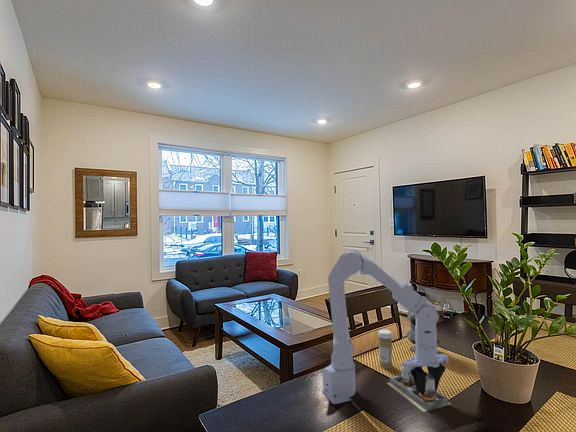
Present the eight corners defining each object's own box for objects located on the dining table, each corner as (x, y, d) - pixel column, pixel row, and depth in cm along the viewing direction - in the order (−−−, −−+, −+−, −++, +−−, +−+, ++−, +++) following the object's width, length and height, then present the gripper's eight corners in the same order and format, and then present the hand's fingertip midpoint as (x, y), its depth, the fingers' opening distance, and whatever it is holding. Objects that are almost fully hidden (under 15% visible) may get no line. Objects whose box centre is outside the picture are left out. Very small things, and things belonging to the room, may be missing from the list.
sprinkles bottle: (395, 369, 112) (394, 331, 112) (386, 373, 110) (386, 334, 110) (384, 365, 116) (384, 328, 116) (376, 368, 113) (375, 330, 113)
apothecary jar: (442, 359, 119) (441, 312, 119) (408, 356, 123) (407, 309, 123) (437, 347, 131) (436, 303, 131) (406, 344, 134) (405, 301, 135)
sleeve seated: (407, 391, 96) (406, 371, 96) (397, 384, 100) (396, 365, 100) (419, 388, 97) (418, 368, 97) (409, 381, 102) (408, 362, 102)
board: (423, 416, 86) (423, 405, 86) (386, 386, 101) (386, 377, 101) (452, 408, 89) (451, 398, 89) (412, 381, 104) (412, 372, 104)
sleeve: (426, 403, 88) (426, 382, 88) (415, 395, 93) (415, 374, 93) (439, 400, 90) (439, 379, 90) (427, 392, 94) (427, 371, 94)
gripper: (415, 352, 85) (416, 403, 85) (456, 345, 90) (457, 393, 90) (398, 343, 92) (399, 390, 92) (437, 336, 97) (438, 381, 97)
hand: (426, 390), depth 91 cm, fingers closed on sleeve, 4 cm apart
